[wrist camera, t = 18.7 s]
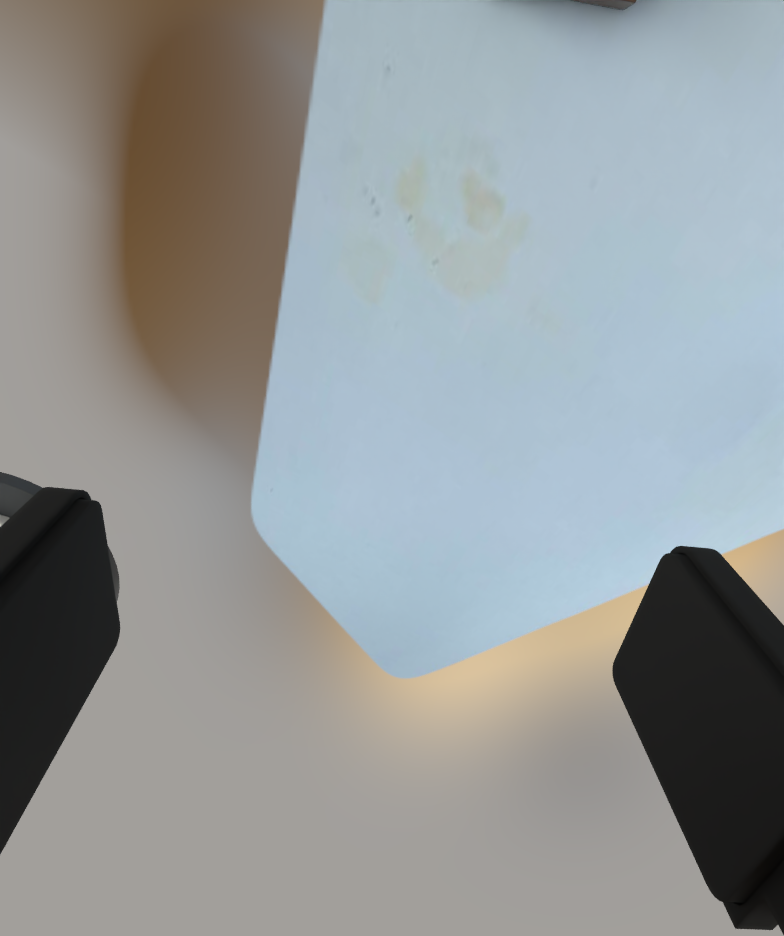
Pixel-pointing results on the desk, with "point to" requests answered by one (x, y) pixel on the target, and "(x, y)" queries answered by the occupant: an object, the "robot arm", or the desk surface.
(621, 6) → the stand
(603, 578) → the desk surface
